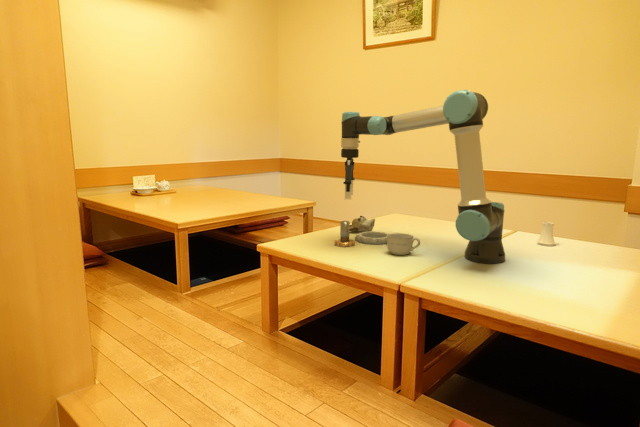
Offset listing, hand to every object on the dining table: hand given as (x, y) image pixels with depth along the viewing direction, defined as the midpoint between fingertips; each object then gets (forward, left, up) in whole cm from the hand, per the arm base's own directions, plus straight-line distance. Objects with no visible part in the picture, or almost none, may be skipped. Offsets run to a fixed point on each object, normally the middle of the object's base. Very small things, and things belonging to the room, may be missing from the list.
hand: (348, 197), depth 194 cm
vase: (+12, -89, -22) cm, 92 cm away
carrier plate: (+9, -12, -21) cm, 26 cm away
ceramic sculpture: (+26, -4, -22) cm, 34 cm away
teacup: (-14, -24, -22) cm, 35 cm away
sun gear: (-2, +1, -21) cm, 21 cm away
